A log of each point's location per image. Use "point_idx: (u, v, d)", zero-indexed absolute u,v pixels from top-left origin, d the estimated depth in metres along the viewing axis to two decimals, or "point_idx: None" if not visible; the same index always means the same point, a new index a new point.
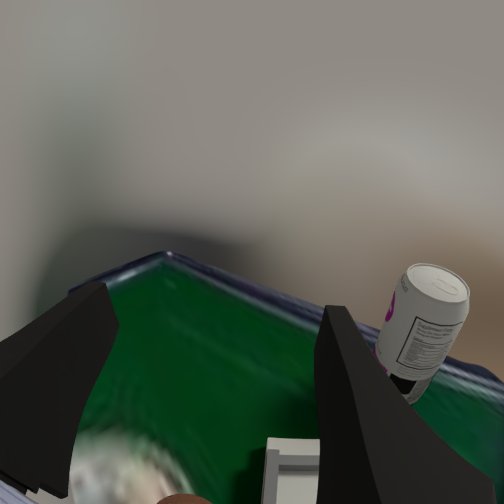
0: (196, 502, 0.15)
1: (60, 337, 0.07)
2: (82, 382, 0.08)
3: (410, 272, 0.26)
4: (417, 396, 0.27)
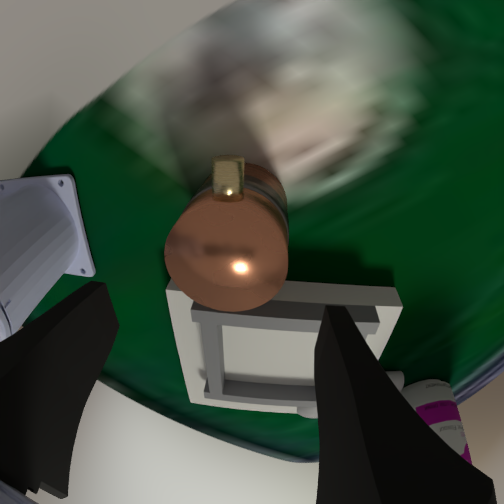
0: (271, 277, 0.12)
1: (60, 337, 0.07)
2: (82, 382, 0.08)
3: None
4: None
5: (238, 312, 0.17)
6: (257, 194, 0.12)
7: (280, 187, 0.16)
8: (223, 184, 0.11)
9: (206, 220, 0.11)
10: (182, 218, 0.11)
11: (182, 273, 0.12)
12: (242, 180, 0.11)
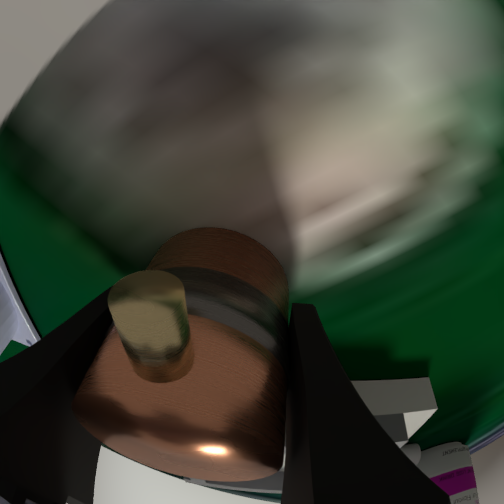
0: (255, 468, 0.06)
1: (87, 344, 0.07)
2: None
3: None
4: None
5: None
6: (228, 332, 0.06)
7: (277, 273, 0.09)
8: (138, 356, 0.04)
9: (119, 408, 0.05)
10: (81, 394, 0.05)
11: (112, 441, 0.06)
12: (183, 341, 0.05)
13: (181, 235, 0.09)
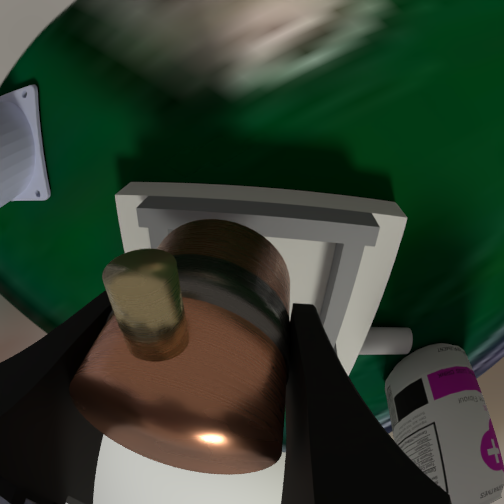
0: (253, 458, 0.06)
1: (87, 344, 0.07)
2: None
3: None
4: (387, 398, 0.22)
5: (193, 209, 0.13)
6: (225, 314, 0.06)
7: (278, 262, 0.09)
8: (132, 331, 0.04)
9: (115, 388, 0.05)
10: (78, 376, 0.05)
11: (110, 430, 0.06)
12: (176, 316, 0.05)
13: (182, 227, 0.09)
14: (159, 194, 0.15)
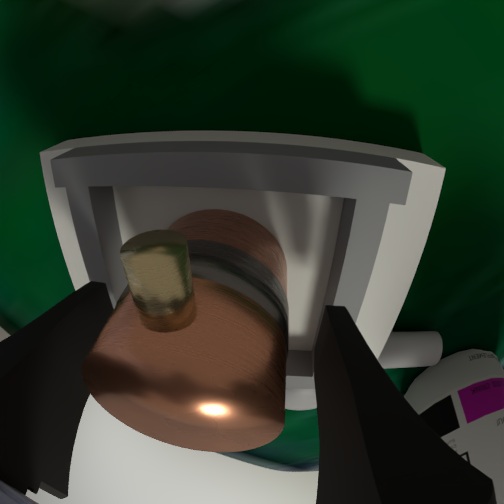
0: (258, 430, 0.06)
1: (61, 336, 0.07)
2: (82, 382, 0.08)
3: None
4: None
5: (119, 152, 0.08)
6: (229, 292, 0.07)
7: (275, 248, 0.10)
8: (146, 303, 0.05)
9: (128, 362, 0.05)
10: (92, 352, 0.05)
11: (120, 411, 0.07)
12: (187, 289, 0.05)
13: (185, 217, 0.10)
14: (89, 145, 0.09)
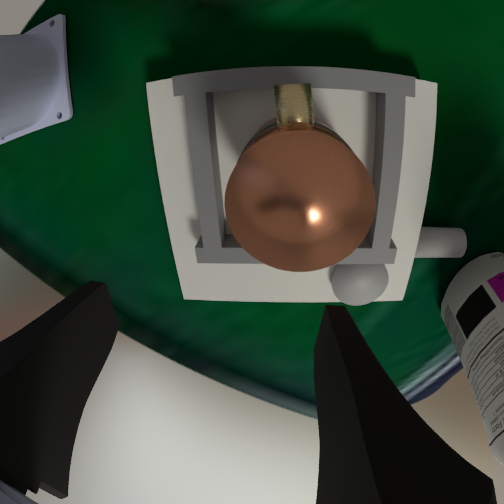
0: (357, 218, 0.10)
1: (60, 337, 0.07)
2: (82, 382, 0.08)
3: None
4: (446, 323, 0.19)
5: (232, 69, 0.11)
6: (324, 129, 0.10)
7: None
8: (292, 109, 0.08)
9: (276, 151, 0.09)
10: (246, 153, 0.09)
11: (248, 227, 0.10)
12: (312, 106, 0.09)
13: (271, 119, 0.14)
14: None
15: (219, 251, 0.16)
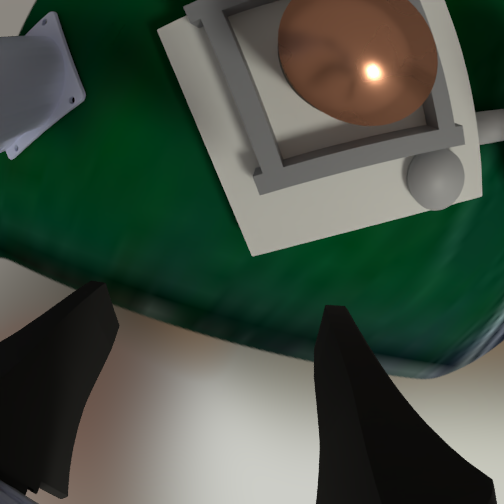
0: (422, 48, 0.06)
1: (60, 337, 0.07)
2: (82, 382, 0.08)
3: None
4: None
5: None
6: None
7: None
8: None
9: None
10: (288, 5, 0.06)
11: (315, 80, 0.08)
12: None
13: None
14: None
15: (281, 172, 0.14)
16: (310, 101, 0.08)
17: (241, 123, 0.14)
